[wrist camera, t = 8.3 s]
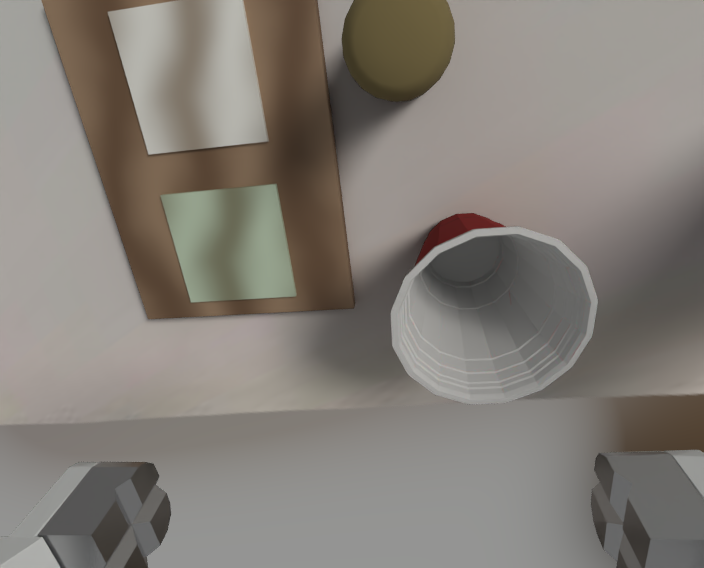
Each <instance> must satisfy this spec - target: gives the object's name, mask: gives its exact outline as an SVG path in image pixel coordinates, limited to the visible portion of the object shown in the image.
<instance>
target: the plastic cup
mask: <svg viewBox="0 0 704 568" xmlns="http://www.w3.org/2000/svg"><path fill="white" fill-rule="evenodd" d="M597 305H598V298H597V295H596V292H595V289H594V286H593V283H592V280H591V277H590V274H589V270H588V267H587V266H586V265H585V264H584V263H583V262H582V261H581V260H580V259H579V258H578V257H577V256H576V255H575V254H574V253H573V252H572V251H571V250H570V249H569V248H568V247H567V246H565V245H564V244H563V243H562V242H561V241H560V240H559V239H556V238H553V237H550V236H547V235H544V234H540V233H537V232H534V231H531V230H528V229H525V228H522V227H519V226H512V227H506V226H504V225H502V224H500V223H497V222H494V221H492V220H490V219H488V218H486V217H483V216H480V215H477V214H474V213H467V214H455V215H453V216H451V217H449V218H446V219H444V220H442V221H440V222H439V223H438V224H437V225H436V226H435V227H434V228H433V229H432V230H431V231H430V232H429V235H428V237H427V239H426V240H425V242H424V245H423V247H422V249H421V252H420V254H419V257H418V259H417V262H416V264H415V267H414V268H413V269H412V270H411V271H410V272H409V273H408V274H407V275H406V276H405V278H404V280H403V283H402V285H401V288H400V290H399V293H398V295H397V298H396V300H395V302H394V305H393V307H392V310H391V312H390V313H391V332H392V347H393V349H394V350H395V352H396V354H397V356H398V357H399V359H400V361H401V363H402V365H403V366H404V368H405V370H406V372H407V374H408V375H409V376H410V377H412V378H413V379H414V380H416V381H417V382H418V383H420V384H421V385H422V386H424V387H425V388H426V389H428V390H429V391H430V392H432V393H433V394H434V395H437V396H441V397H444V398H448V399H451V400H455V401H458V402H462V403H465V404H469V405H471V404H493V403H507V402H510V401H513V400H516V399H518V398H521V397H524V396H527V395H530V394H532V393H535V392H538V391H541V390H543V389H544V388H545V387H547V386H548V385H549V384H551V383H552V382H553V381H555V380H556V379H557V378H558V377H560V376H561V375H562V374H564V373H565V372H566V371H568V370H569V369H570V368H572V367H573V365H574V363H575V362H576V360H577V359H578V357H579V356H580V354H581V353H582V351H583V350H584V348H585V346H586V345H587V343H588V342H589V340H590V339H591V337H592V335H593V329H594V323H595V317H596V311H597Z"/></svg>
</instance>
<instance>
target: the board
mask: <svg viewBox="0 0 704 568" xmlns="http://www.w3.org/2000/svg"><path fill="white" fill-rule="evenodd" d="M42 3H43V6H44V9H45V12H46V15H47V18H48V21H49V24H50V27H51V30H52V33H53V36H54V39H55V42H56V45H57V48H58V51H59V54H60V57H61V60H62V63H63V66H64V69H65V72H66V75H67V78H68V81H69V84H70V87H71V90H72V93H73V96H74V99H75V102H76V105H77V108H78V111H79V114H80V117H81V120H82V123H83V126H84V129H85V132H86V135H87V138H88V140H89V143H90V146H91V149H92V152H93V155H94V158H95V161H96V164H97V167H98V170H99V173H100V176H101V179H102V182H103V185H104V188H105V191H106V194H107V197H108V200H109V203H110V206H111V209H112V212H113V215H114V218H115V221H116V224H117V227H118V230H119V233H120V236H121V239H122V242H123V245H124V248H125V251H126V254H127V257H128V260H129V263H130V266H131V269H132V272H133V275H134V278H135V281H136V284H137V287H138V290H139V293H140V296H141V299H142V302H143V305H144V308H145V311H146V314H147V316H148V319H161V318H180V317H199V316H218V315H238V314H257V313H276V312H295V311H314V310H333V309H353V308H354V306H355V298H354V290H353V282H352V274H351V266H350V258H349V250H348V242H347V234H346V226H345V218H344V210H343V202H342V194H341V186H340V178H339V170H338V162H337V154H336V146H335V138H334V130H333V122H332V113H331V105H330V97H329V89H328V81H327V73H326V65H325V57H324V49H323V41H322V33H321V25H320V17H319V9H318V1H317V0H42Z"/></svg>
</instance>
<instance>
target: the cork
mask: <svg viewBox="0 0 704 568" xmlns="http://www.w3.org/2000/svg"><path fill="white" fill-rule="evenodd" d="M454 44H455V29H454V20H453V17H452V14H451V11H450V8H449V4H448V3H447V1H446V0H354V1H353V3H352V5H351V7H350V9H349V11H348V13H347V15H346V18H345V22H344V28H343V33H342V46H343V56H344V60H345V62H346V65H347V67H348V69H349V72H350V74H351V76H352V77H353V78H354V80H355V81H356V82H357V83H358V84H359V86H360V87H361V88H362V89H363V90H365V91H367V92H368V93H370V94H371V95H373V96H374V97H376V98H380V99H384V100H388V101H395V102H399V101H408V100H412V99H414V98H416V97H418V96H420V95H422V94H424V93H425V92H426V91H428V90H429V89H430V88H431V87H432V86H433V85H434V84H435V83H436V82H437V81H438V80H439V79H440V78H441V76H442V74H443V73H444V71H445V69H446V68H447V66H448V64H449V63H450V59H451V55H452V52H453V48H454Z"/></svg>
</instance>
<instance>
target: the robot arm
mask: <svg viewBox="0 0 704 568" xmlns="http://www.w3.org/2000/svg"><path fill="white" fill-rule="evenodd" d="M594 470H595V472H596V475H597V477H598V479H599V481H600V482H599V484H597V485H596V486H595V487H594V488H593V489H592V496H591V508H592V515H593V521H594V525H595V528H596V532H597V535H598V537H599V540H600V542H601V545H602V547H603V549H604V551H606V552H607V553H608V554H609V555H610V556H611V557H613V558H614V559H615V560H616V561H617V567H616V568H704V453H703V452H701V451H700V450H678V451H664V452H662V451H646V452H612V453H611V452H610V453H599V454H598V455H597V457H596V460H595V468H594ZM158 478H159V474H158V472H157V470H156V468H155V466H154V464H152V463H147V462H78V463H76V464H74V465H72V466H70V467H69V468H68V469H67V470H66V471H65V472H64V474H63V475H62V476H61V477H60V478H59V479H58V481H57V482H56V483H55V484H54V485H53V486H52V487H51V488H50V490H49V491H48V492H47V493H46V494H45V495H44V497H43V498H42V499H41V500H40V501H39V502H38V504H37V505H36V506H35V507H34V508H33V509H32V510H31V511H30V513H29V514H28V515H27V516H26V517H25V518H24V520H23V521H22V522H21V523H20V524H19V525H18V527H17V528H16V529H15V530H14V531H13V532H12V533H11V535H10V536H7V537H0V568H148V563H147V556H148V555H149V554H150V553H152V552H153V551H154V550H155V549H156V548H158V547H159V546H160V545H161V543H162V541H163V539H164V537H165V534H166V532H167V530H168V525H169V521H170V516H171V509H170V501H169V499H168V496H167V493H166V492H164V491H163V490H162V489H161V488H159V487H158V486H157V485H156V483H157V480H158Z"/></svg>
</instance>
